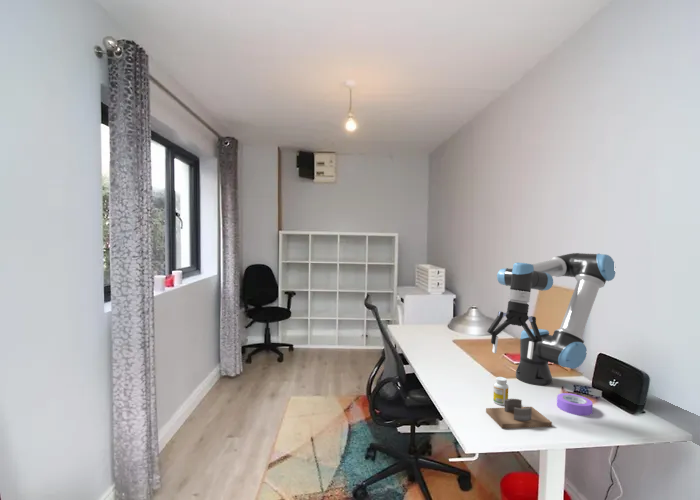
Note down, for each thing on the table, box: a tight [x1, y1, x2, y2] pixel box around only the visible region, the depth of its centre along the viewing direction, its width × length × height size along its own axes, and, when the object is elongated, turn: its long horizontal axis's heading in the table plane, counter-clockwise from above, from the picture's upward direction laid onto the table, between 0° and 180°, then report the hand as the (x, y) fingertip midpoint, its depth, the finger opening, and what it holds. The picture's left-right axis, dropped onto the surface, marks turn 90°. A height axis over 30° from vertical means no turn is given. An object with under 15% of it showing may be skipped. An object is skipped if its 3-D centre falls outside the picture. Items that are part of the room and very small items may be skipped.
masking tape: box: [556, 392, 594, 417], centre depth 143 cm, size 12×12×4 cm
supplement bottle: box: [493, 376, 509, 406], centre depth 147 cm, size 5×5×10 cm
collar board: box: [485, 398, 553, 429], centre depth 134 cm, size 18×12×6 cm, turn 95°
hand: (511, 355), depth 146 cm, fingers open, 13 cm apart
